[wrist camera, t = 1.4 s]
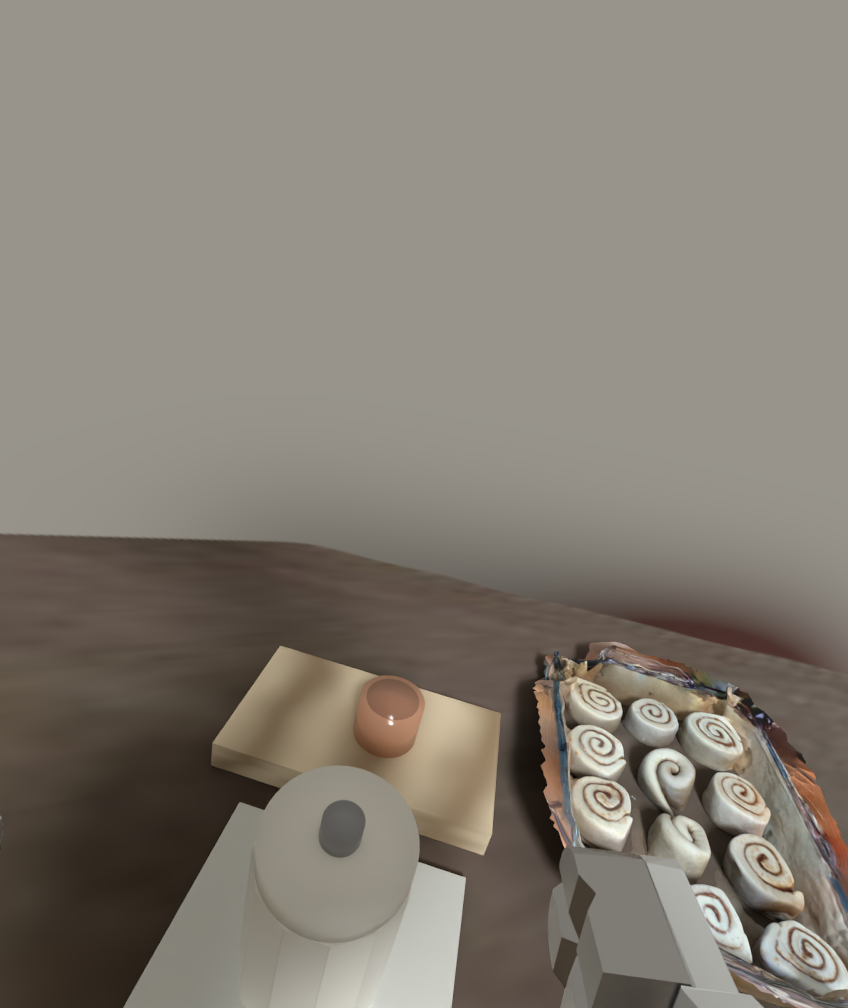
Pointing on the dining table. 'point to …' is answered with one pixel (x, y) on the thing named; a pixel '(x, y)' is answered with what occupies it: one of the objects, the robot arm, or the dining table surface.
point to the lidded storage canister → (326, 891)
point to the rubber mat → (218, 922)
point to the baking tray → (727, 801)
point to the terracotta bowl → (388, 716)
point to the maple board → (330, 741)
